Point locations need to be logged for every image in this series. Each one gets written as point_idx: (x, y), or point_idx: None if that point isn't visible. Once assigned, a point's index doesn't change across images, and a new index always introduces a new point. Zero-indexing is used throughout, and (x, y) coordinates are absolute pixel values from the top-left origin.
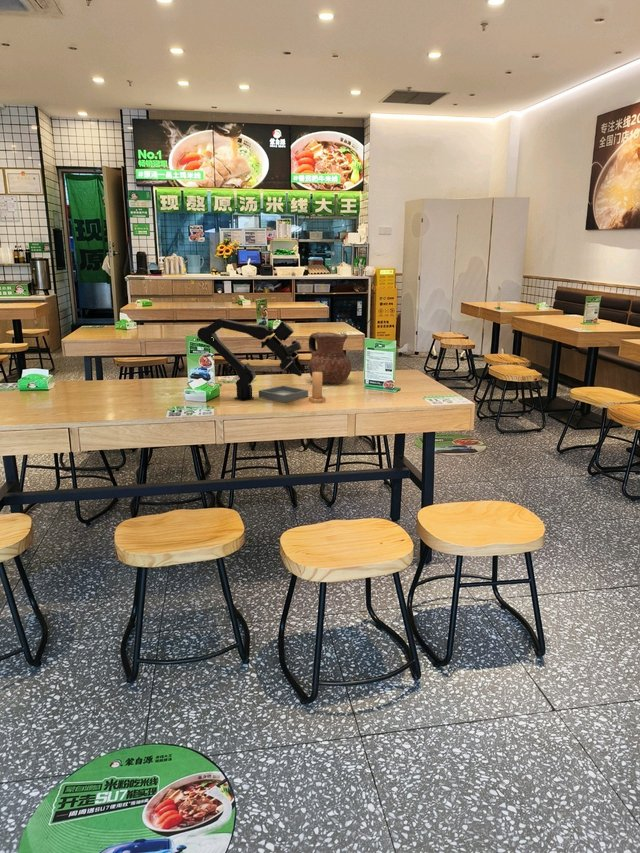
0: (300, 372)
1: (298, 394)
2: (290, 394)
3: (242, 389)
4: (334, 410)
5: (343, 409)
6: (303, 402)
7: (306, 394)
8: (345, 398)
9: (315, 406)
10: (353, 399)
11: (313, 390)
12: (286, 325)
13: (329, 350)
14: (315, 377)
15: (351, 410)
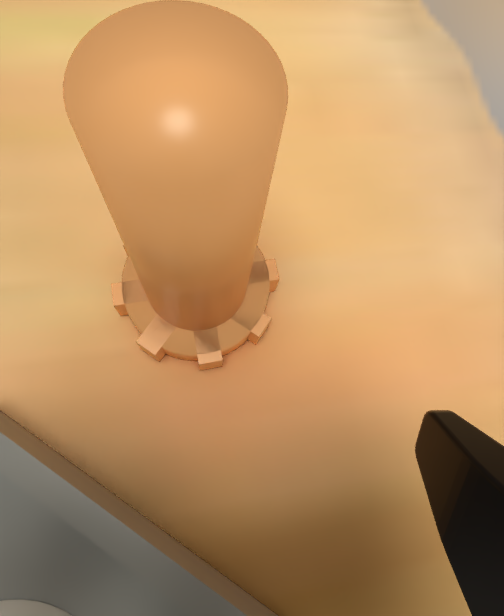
0: (470, 446)
1: (107, 504)
2: (227, 600)
3: None
4: (481, 140)
5: (433, 84)
6: (264, 418)
7: (2, 420)
8: (56, 74)
9: (396, 288)
10: (90, 20)
11: (237, 287)
12: None
13: None
14: (273, 168)
15: (445, 37)
